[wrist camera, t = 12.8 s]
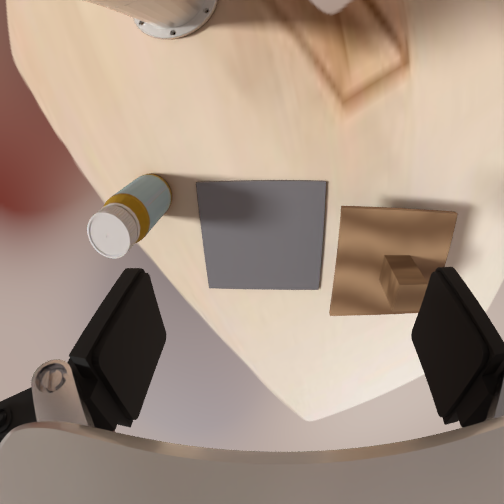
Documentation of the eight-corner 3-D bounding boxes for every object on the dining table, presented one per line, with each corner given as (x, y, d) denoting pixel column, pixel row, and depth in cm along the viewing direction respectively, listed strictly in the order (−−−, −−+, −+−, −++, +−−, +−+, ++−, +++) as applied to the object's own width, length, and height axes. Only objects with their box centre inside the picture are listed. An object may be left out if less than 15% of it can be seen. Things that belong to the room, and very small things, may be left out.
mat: (196, 182, 45) (196, 182, 45) (325, 180, 43) (326, 181, 43) (209, 286, 54) (209, 288, 54) (318, 288, 52) (318, 289, 52)
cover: (341, 205, 37) (354, 233, 30) (455, 211, 35) (483, 237, 29) (329, 312, 45) (335, 349, 38) (427, 308, 44) (444, 341, 37)
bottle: (156, 164, 44) (108, 197, 31) (181, 200, 47) (144, 246, 34) (125, 187, 46) (74, 227, 33) (149, 221, 49) (108, 270, 36)
